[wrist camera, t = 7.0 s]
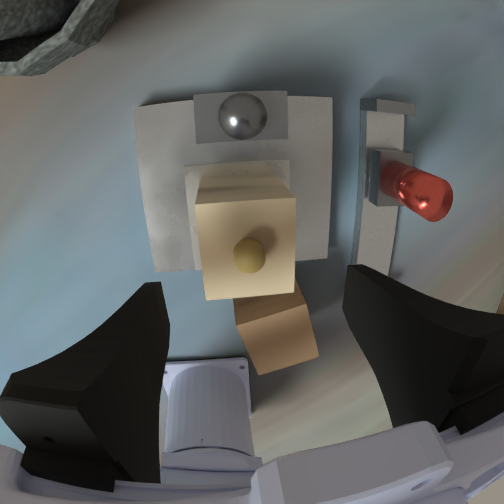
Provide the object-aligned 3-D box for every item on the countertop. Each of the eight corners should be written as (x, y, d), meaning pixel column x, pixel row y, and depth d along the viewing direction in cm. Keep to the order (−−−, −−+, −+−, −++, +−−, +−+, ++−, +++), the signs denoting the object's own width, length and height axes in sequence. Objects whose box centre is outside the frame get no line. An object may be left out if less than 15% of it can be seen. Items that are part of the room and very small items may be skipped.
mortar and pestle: (125, -59, 11) (68, -152, 1) (161, 36, 15) (97, -45, 5) (-3, 21, 12) (-110, 3, 1) (22, 116, 16) (-105, 145, 5)
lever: (399, 199, 21) (448, 230, 15) (367, 200, 20) (414, 233, 15) (403, 150, 19) (458, 168, 14) (370, 148, 19) (422, 166, 13)
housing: (275, 247, 21) (297, 301, 15) (207, 253, 21) (205, 309, 15) (274, 173, 19) (300, 202, 13) (200, 178, 19) (193, 210, 13)
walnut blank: (303, 315, 26) (319, 356, 21) (251, 331, 26) (258, 375, 21) (289, 265, 23) (306, 303, 19) (231, 283, 24) (236, 325, 19)
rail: (378, 289, 25) (391, 305, 23) (347, 293, 25) (358, 310, 23) (397, 103, 19) (415, 104, 17) (360, 99, 18) (376, 98, 16)
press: (322, 251, 23) (358, 304, 17) (158, 264, 22) (139, 325, 16) (325, 97, 18) (376, 95, 12) (137, 107, 17) (99, 108, 11)
